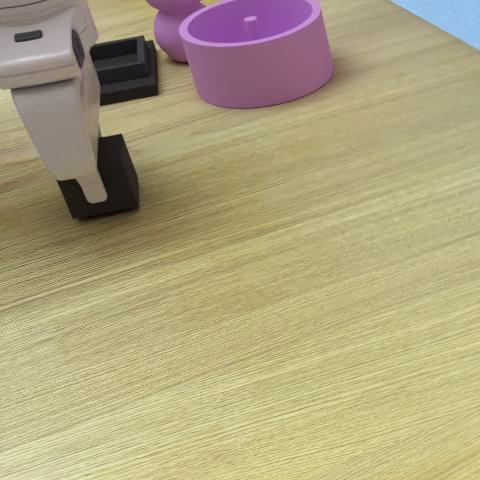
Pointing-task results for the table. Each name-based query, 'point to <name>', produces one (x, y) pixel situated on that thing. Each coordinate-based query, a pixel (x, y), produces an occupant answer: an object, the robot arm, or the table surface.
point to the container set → (247, 48)
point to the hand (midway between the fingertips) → (99, 181)
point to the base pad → (125, 69)
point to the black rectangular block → (106, 181)
